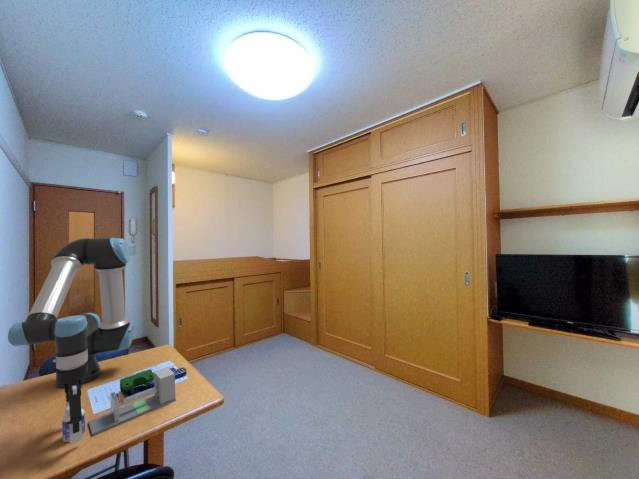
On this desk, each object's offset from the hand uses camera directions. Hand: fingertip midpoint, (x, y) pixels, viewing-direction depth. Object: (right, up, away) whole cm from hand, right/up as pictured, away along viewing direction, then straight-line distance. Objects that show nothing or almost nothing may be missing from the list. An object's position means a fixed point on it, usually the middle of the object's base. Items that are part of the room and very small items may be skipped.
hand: (74, 430), depth 86 cm
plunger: (+12, 0, +12) cm, 17 cm away
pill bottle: (0, -2, 0) cm, 2 cm away
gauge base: (+11, -1, +12) cm, 17 cm away
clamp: (+3, -2, +26) cm, 27 cm away
